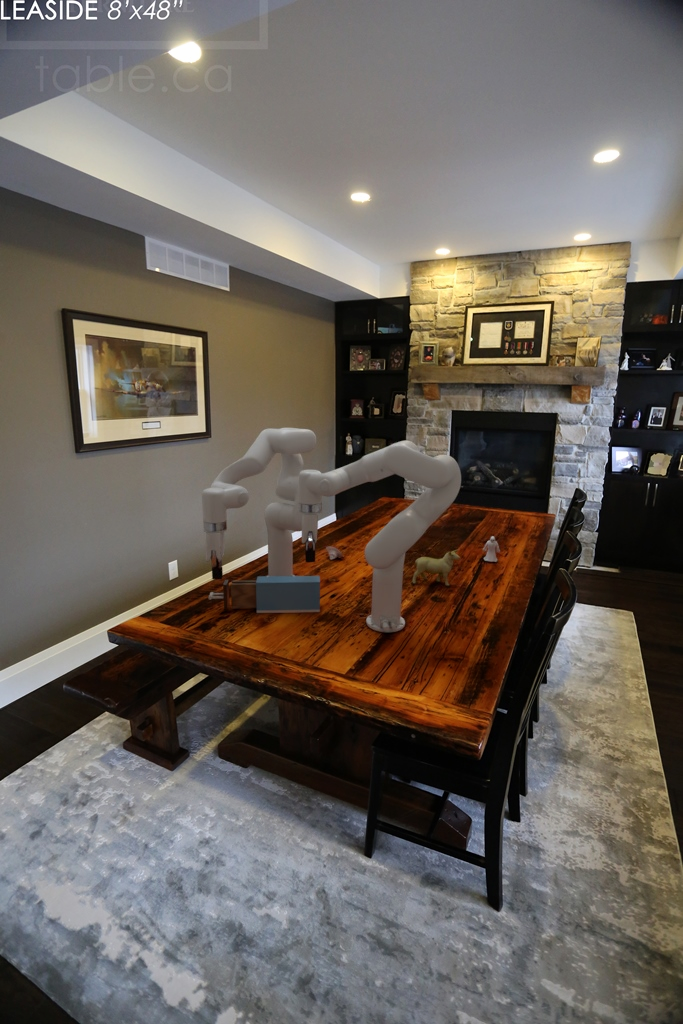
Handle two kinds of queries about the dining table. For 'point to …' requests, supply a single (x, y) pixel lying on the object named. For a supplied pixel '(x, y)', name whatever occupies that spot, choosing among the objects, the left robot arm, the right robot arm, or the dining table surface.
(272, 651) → the dining table surface
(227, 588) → the drawer
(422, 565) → the toy
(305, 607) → the blue slab
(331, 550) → the white lid
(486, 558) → the figurine
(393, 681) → the dining table surface
